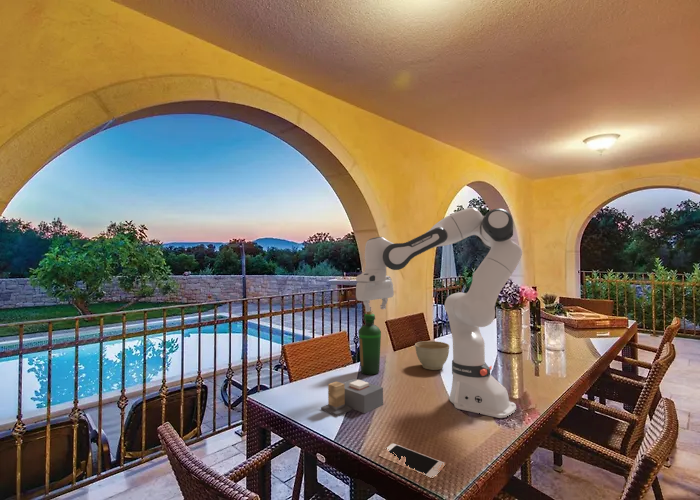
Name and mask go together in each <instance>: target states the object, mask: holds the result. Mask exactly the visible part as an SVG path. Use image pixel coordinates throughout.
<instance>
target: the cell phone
mask: <svg viewBox="0 0 700 500" xmlns="http://www.w3.org/2000/svg"><path fill="white" fill-rule="evenodd" d="M386 448H387V450H388V449H389V450H388V451H389V452H390V453H392V454H394V453H395V454H396V455H397V457H398V458H399V460H400V459H401V456H403V457H404V456H405V457H406V462H405V464H406V466H408V465H409V467H410V468H412V469H414V468H415V470H416V471H417V472H419V473H420V472H422V473H423V472H424V473H425V474H424V473H423V474H424V475H426V476H428V477H430V478H431V477H432V476H433V477H434V476H435V475H437V474H438V473H439V472H440V471H439V470H438V469H439V468H440V467H441V465H442V463H443V465H444V463H445V462H444V461H441V460H438V459H436V458H433V457H431V456H428V455H426V454H423V453H420V452H418V451H416V450H413V449H409V448H407V447H405V446H402V445H399V444H396V443H391V444H390V445H388V446H386ZM393 452H394V453H393ZM395 454H394V456H396V455H395ZM439 465H440V466H439ZM438 466H439V468H438ZM433 467H434V468H433ZM410 468H409V469H410ZM437 468H438V469H437ZM409 469H408V470H409ZM438 471H439V472H438ZM419 473H418V474H419ZM440 473H441V472H440ZM440 473H439V474H440ZM439 474H438V475H439ZM438 475H437V476H438ZM426 476H425V477H426ZM428 477H427V478H428ZM433 477H432V478H433ZM430 478H429V479H430Z"/></svg>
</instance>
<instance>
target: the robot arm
mask: <svg viewBox="0 0 700 500" xmlns="http://www.w3.org/2000/svg"><path fill="white" fill-rule="evenodd" d="M472 236H474V238H476V240H478V242H480V243H481V244H482V245H483V246H485V248H487V249H489V251H488V253H487V254H486V256H485V257H484V258H483V260H482V261H481V263H480V264H479V265H478V267H477V269H475V271H474V273H473V274H472V281H471V284H470V286H469V289H468V291H467V292H461V291H460V292H459V291H458V292H455V293H452V294H449V295H448V297H446V299H445V301H444V310H445V312H446V314H447V317H448V323H449V328H450V331H451V339H452V361H451V374H452V383H451V390H450V394H449V398H448V400H449V402H450V403H452V404H453V405H454V408H455V409H458V410H462V411H467V412H471V413H475V414H479V413H480V415H484V416H489V417H493V418H498V419H503V418H508V417H510V416H511V414H512V413H513V414H514V413H515V412H516V411H515V410H517V405H516V403H515V402H513V401H510V397H509V394H508V390H507V388H506V387H505V386H504V385H502V384H501V383H500V382H499V381H498V380H497V379H496V378H495V377H494V376H493V375H492V374H491V370H493V367H492V365H490V366H489V365H488V364H487V363H486V359H485V358H486V356H485V355H486V354H485V353H486V350H485V347H486V346H485V345H486V343H485V340H484V337H483V336H482V333H481V330H480V328H485V327H488V326H490V325H491V324H492V323H493V322H494V320H495V318H496V309H495V307H496V303H497V300H498V297H499V295H500V293H501V291H502V290H503V288H504V286H505V285H506V283H507V282H508V281H509V279H510V277H511V276H512V275H513V273H514V271H515V270H516V269H517V267H518V265H519V263H520V261H521V258H522V255H523V249H522V247H521V246H520V245H519V244H518V243H516V242H515V241H513V240H512V238H513V237H514V219H513V216H512V215H511V213H510V212H509V211H507V210H506V209H503V208H494V209H491V210H490V211H488V212H487V213H486V214H485V215H483V214H482V212H480V210H479V209H477V208H476V207H467V208H465V209H461V210H458V211H456V212H454V213H451V214H449V215H446V216H445V217H444V218H442V219H441V220H439V221H438V222H436V223H435V224H433V226H432V227H431V228H430V229H429V230H428V231H426V232H424V233H423V234H421V235H419V236H417V237H414V238H412V239H411V240H408V241H406V242H401V243H400V242H399V243H397V242H396V243H394V242H392V241H390V240H388V239H386V238H385V237H384V236H383V237H382V236H376V237H372V238H369V239H368V240H366V242H365V248H364V262H365V267H364V272H362V273H360V274H358V275H357V276H356V277H355V278H356V279H355V281H356V282H357V283H356V286H355V298H356V300H357V301H359V302H363V305H364V308H365V313H366V312H370V311H372V307H371V306H370V304H369V303H370V301H373V300H374V301H375V300H381V301H382V302H381V304H380V307H379V308H380V309H381V310H386V309H387V304H388V299H389V298H390V299H391V298H393V297H394V284H393V280H392V278H391V277H390V275H387V268H388V269H390V270H392V271H398V270H399V271H400V270H401V269H404V268H406V266H407V265H408V264H409V263H410V262H411V260H412V259H414V258H415V257H417V256H419V255H421V254H423V253H424V252H427V251H429V250H431V249H434V248H437V247H445V246H450V245H453V244H456V243H458V242H461V241H462V240H465V239H466V238H468V237H472ZM513 414H512V415H513ZM509 415H510V416H509ZM507 416H508V417H507Z"/></svg>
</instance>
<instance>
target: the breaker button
mask: <svg viewBox="0 0 700 500" xmlns="http://www.w3.org/2000/svg"><path fill="white" fill-rule="evenodd" d="M369 383H370V382H368V381H366V380H365V381H364V380H362V379H357V380H356V381H354V382H351V383H349V387H351V388H354V389H356V390H359V391H360V390H362V389H365V388H367V387H369Z"/></svg>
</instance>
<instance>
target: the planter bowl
mask: <svg viewBox="0 0 700 500" xmlns="http://www.w3.org/2000/svg"><path fill="white" fill-rule="evenodd" d="M414 347H415V353H416V357H417V359H418V360H419V362H420V364H421V366H422V368H423V369H425V370H430V371H437V370H439V371H440V370H442V369H443V367H444V365H445V364H446V362H447V360H448V357H449V352H450V345H449V344H448V343H446V342H444V341H443V342H442V341H438V340H436V341H434V340H425V341H418V342H416V343H415V344H414Z"/></svg>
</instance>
